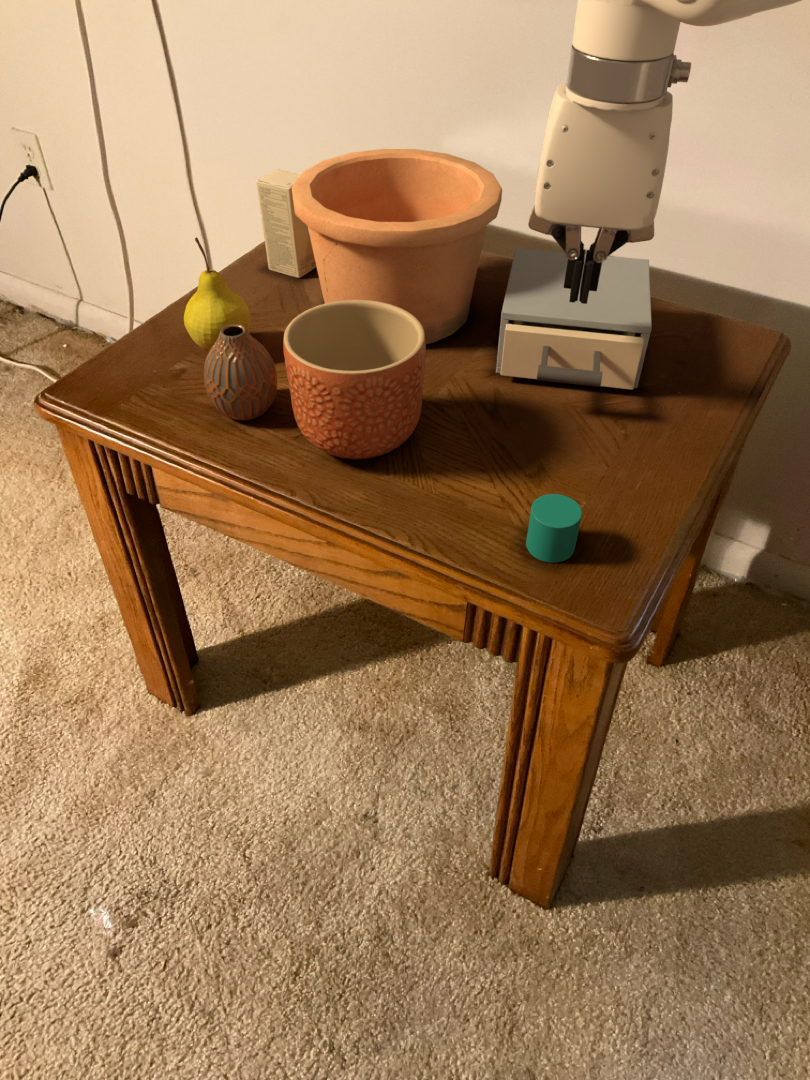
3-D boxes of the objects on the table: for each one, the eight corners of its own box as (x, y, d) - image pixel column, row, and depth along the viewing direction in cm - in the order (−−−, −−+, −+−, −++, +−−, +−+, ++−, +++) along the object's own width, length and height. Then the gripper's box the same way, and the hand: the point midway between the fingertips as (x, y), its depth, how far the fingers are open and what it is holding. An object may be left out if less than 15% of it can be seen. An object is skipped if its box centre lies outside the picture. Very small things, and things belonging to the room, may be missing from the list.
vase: (245, 438, 78) (232, 359, 72) (195, 412, 81) (179, 333, 75) (295, 405, 82) (286, 326, 76) (245, 381, 85) (233, 304, 79)
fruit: (264, 355, 88) (250, 248, 80) (205, 373, 86) (183, 265, 77) (239, 327, 93) (223, 222, 84) (181, 343, 90) (159, 237, 82)
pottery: (497, 362, 87) (509, 231, 77) (292, 360, 88) (277, 229, 78) (487, 268, 103) (496, 148, 93) (312, 266, 103) (302, 146, 93)
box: (320, 266, 103) (313, 176, 95) (299, 279, 101) (290, 188, 93) (286, 255, 105) (277, 167, 97) (265, 269, 103) (254, 178, 95)
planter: (388, 492, 73) (387, 388, 65) (268, 454, 76) (254, 351, 69) (443, 417, 81) (448, 316, 73) (333, 386, 84) (326, 287, 77)
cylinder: (575, 532, 69) (583, 496, 66) (573, 566, 66) (581, 530, 63) (528, 526, 70) (533, 490, 67) (524, 559, 67) (529, 523, 64)
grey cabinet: (637, 388, 84) (651, 327, 79) (495, 373, 86) (501, 312, 81) (635, 317, 94) (649, 259, 89) (509, 305, 96) (515, 247, 91)
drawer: (633, 420, 79) (644, 373, 75) (494, 404, 81) (499, 357, 77) (632, 322, 92) (642, 278, 88) (513, 310, 94) (517, 267, 90)
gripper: (715, 67, 64) (660, 284, 77) (523, 54, 66) (501, 268, 79) (722, 97, 59) (662, 325, 72) (514, 82, 61) (493, 307, 74)
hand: (578, 295), depth 75 cm, fingers closed
